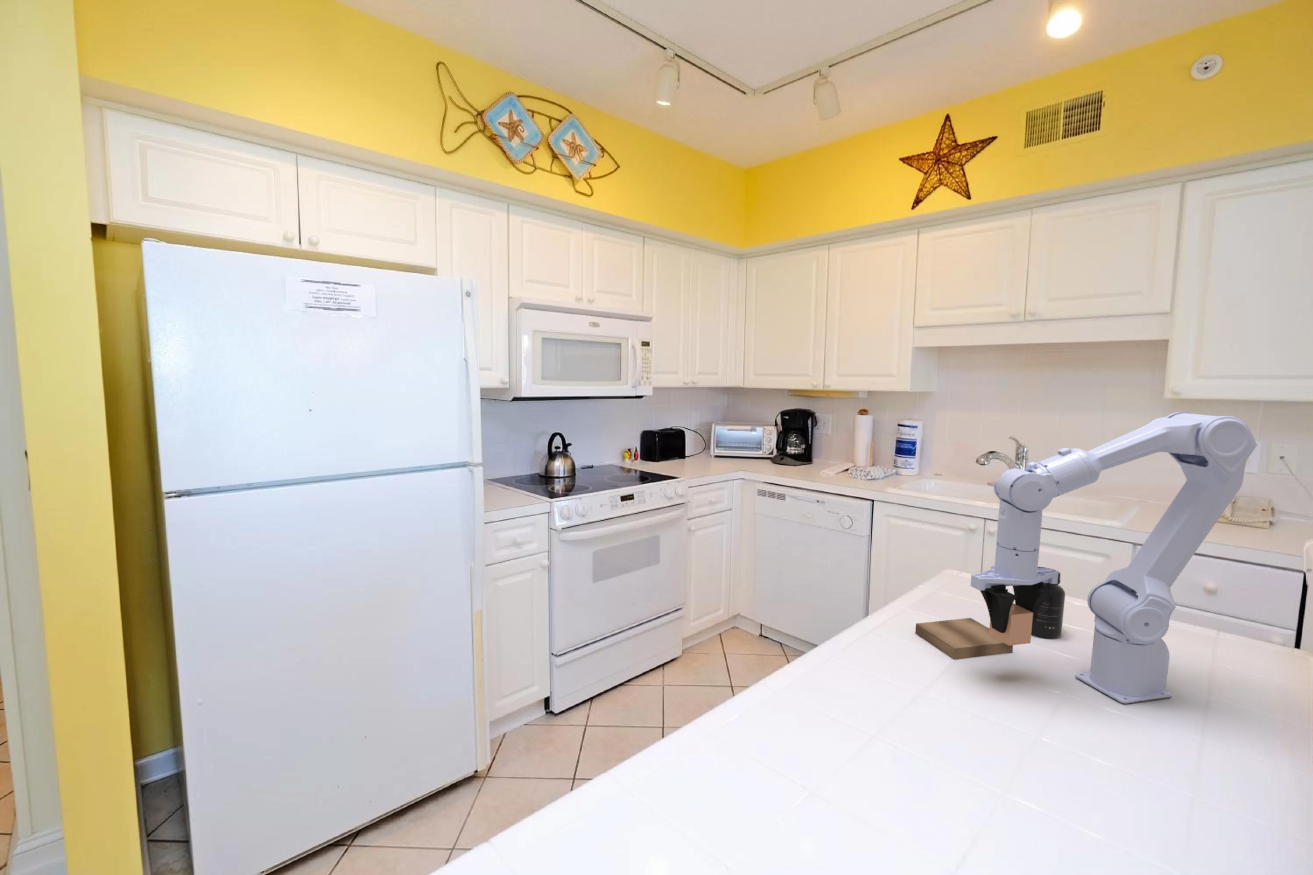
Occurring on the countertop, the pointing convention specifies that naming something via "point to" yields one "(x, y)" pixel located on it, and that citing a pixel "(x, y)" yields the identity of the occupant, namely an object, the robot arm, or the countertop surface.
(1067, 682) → the countertop surface
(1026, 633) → the terracotta block
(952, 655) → the walnut board
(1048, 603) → the supplement bottle
